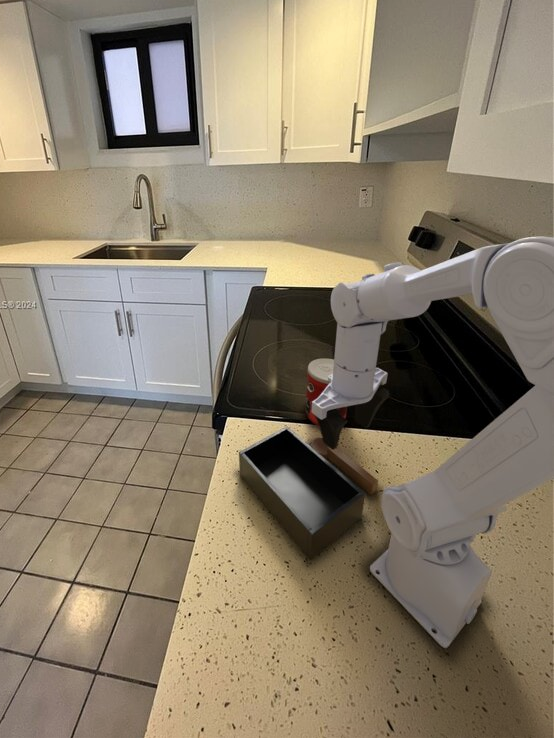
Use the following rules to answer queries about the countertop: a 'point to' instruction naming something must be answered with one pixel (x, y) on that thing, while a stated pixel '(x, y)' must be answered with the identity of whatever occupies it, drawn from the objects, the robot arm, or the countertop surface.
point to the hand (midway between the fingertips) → (346, 434)
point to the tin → (301, 490)
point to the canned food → (319, 384)
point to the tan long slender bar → (346, 465)
